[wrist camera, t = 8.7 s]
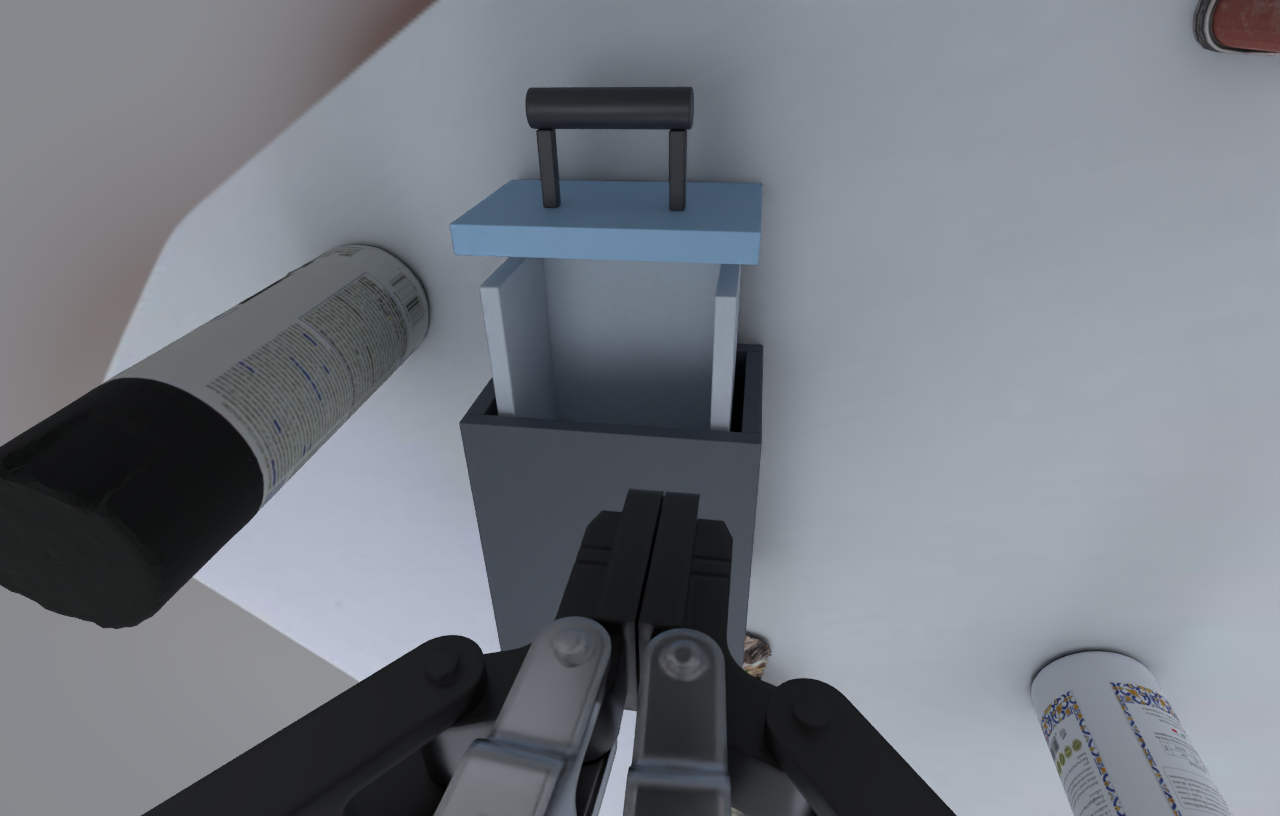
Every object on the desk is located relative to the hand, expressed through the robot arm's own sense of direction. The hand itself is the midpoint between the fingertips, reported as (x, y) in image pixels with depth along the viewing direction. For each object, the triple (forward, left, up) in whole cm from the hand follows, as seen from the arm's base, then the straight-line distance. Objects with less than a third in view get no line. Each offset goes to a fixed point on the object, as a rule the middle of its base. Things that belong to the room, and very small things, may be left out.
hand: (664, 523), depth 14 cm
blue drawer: (+2, -4, -20) cm, 21 cm away
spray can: (+4, -18, -21) cm, 28 cm away
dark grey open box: (+13, -4, -21) cm, 25 cm away
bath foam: (+28, +24, -21) cm, 43 cm away
